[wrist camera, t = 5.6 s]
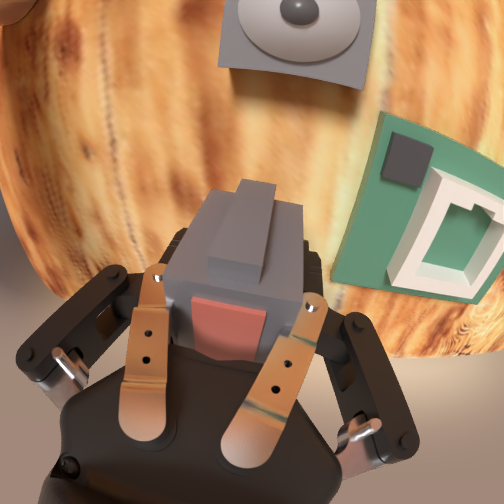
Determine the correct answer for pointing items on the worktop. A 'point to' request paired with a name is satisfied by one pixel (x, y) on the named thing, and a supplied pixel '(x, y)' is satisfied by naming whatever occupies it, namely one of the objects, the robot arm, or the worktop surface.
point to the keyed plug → (237, 273)
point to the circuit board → (424, 217)
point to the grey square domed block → (300, 38)
